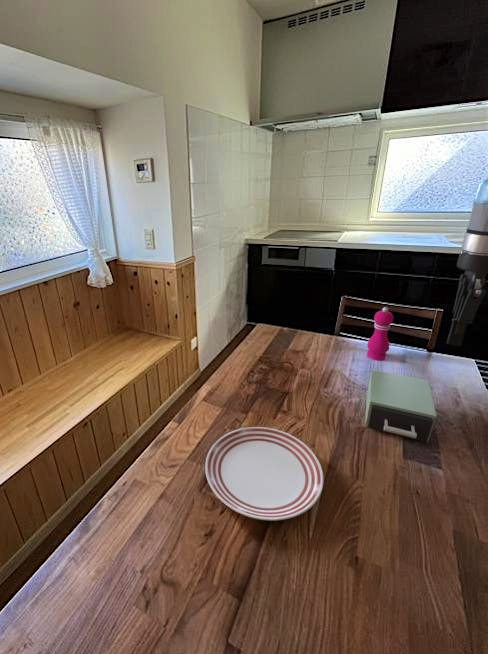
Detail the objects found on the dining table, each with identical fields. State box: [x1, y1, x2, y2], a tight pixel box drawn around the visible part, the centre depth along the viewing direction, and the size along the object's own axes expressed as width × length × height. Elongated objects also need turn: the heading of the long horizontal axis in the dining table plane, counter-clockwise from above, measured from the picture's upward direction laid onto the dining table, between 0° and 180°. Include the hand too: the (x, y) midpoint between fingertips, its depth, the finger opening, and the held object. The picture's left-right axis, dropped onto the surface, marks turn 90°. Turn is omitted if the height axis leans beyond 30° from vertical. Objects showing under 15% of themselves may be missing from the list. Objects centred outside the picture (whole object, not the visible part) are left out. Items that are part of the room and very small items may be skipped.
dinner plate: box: [204, 426, 324, 522], centre depth 81 cm, size 27×27×3 cm
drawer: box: [367, 405, 433, 443], centre depth 93 cm, size 20×14×7 cm
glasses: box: [245, 354, 295, 393], centre depth 117 cm, size 13×13×5 cm
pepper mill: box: [366, 306, 394, 361], centre depth 123 cm, size 7×7×20 cm
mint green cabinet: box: [364, 369, 437, 443], centre depth 96 cm, size 17×15×9 cm
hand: (453, 343), depth 85 cm, fingers closed
